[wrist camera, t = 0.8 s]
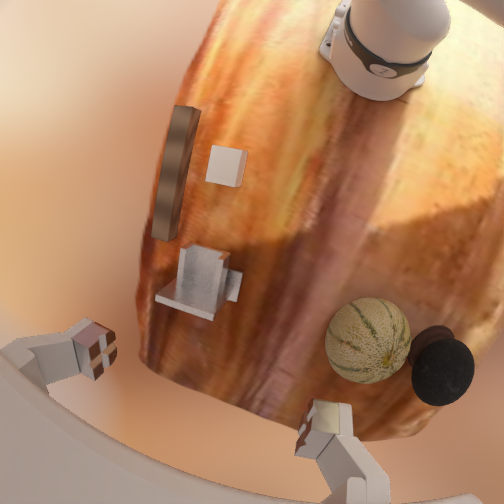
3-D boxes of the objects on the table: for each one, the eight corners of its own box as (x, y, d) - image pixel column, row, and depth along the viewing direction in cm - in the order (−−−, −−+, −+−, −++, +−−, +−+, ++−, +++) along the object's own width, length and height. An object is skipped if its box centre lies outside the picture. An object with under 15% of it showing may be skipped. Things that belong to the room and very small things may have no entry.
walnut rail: (184, 109, 45) (174, 105, 42) (201, 111, 45) (192, 107, 41) (161, 232, 53) (151, 237, 49) (177, 236, 53) (167, 242, 49)
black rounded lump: (413, 320, 47) (437, 367, 33) (465, 321, 44) (495, 362, 30) (395, 372, 50) (409, 422, 36) (444, 371, 48) (465, 415, 34)
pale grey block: (220, 146, 46) (212, 144, 42) (248, 151, 45) (242, 150, 41) (213, 180, 48) (205, 181, 44) (241, 185, 47) (234, 187, 43)
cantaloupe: (309, 328, 52) (304, 380, 38) (356, 268, 47) (371, 307, 33) (366, 361, 51) (375, 414, 37) (414, 308, 46) (440, 354, 32)
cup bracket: (186, 234, 52) (153, 252, 41) (247, 251, 50) (227, 275, 39) (180, 282, 55) (149, 309, 44) (237, 300, 53) (217, 333, 42)
